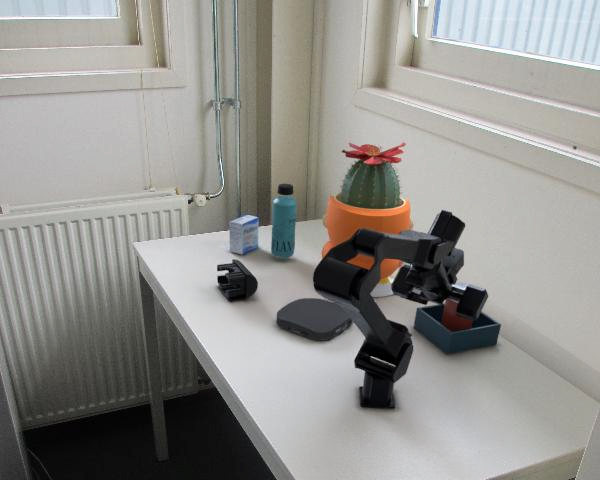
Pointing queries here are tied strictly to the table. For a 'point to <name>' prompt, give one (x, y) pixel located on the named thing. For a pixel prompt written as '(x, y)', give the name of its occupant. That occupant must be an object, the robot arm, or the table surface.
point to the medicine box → (244, 234)
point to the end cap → (236, 281)
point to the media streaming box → (313, 318)
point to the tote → (453, 342)
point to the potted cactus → (369, 207)
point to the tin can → (454, 314)
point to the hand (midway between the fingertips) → (446, 309)
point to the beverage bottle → (283, 222)
